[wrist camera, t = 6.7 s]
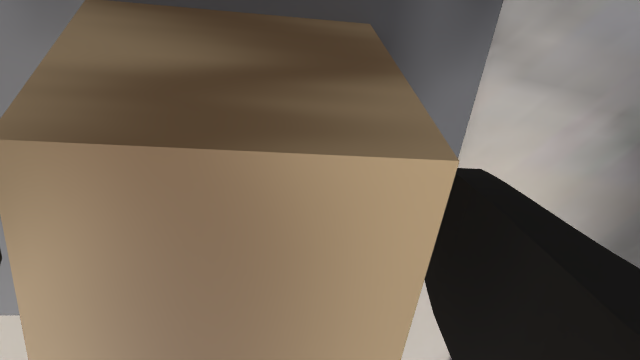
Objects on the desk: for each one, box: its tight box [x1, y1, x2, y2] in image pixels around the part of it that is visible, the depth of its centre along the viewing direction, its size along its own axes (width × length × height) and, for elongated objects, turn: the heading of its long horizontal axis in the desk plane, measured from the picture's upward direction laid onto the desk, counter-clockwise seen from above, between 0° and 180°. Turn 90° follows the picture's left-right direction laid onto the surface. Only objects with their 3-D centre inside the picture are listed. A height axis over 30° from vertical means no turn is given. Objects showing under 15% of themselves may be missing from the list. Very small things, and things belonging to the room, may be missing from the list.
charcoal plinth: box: [0, 0, 503, 315], centre depth 13 cm, size 10×10×2 cm
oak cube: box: [0, 0, 459, 360], centre depth 10 cm, size 5×5×5 cm
